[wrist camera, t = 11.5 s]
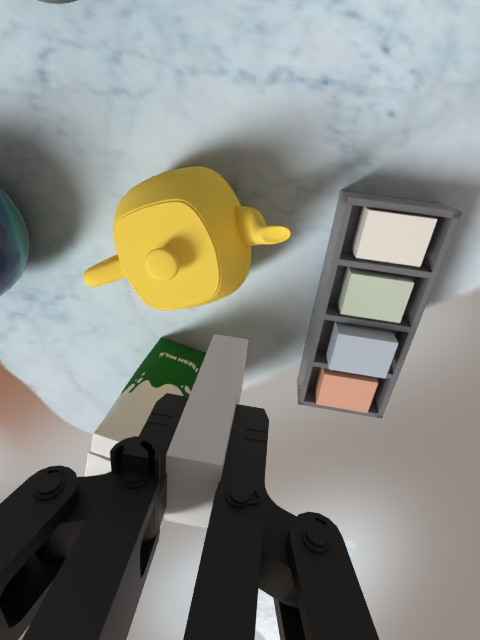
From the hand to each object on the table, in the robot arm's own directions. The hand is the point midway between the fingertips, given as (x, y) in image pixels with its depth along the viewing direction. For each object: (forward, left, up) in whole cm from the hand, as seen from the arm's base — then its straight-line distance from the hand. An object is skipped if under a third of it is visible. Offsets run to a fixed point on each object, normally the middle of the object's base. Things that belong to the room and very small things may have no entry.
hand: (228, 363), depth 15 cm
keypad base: (+7, +12, -26) cm, 30 cm away
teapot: (+1, -7, -27) cm, 28 cm away
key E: (+16, +12, -24) cm, 31 cm away
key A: (-2, +12, -24) cm, 27 cm away
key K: (+10, +12, -23) cm, 27 cm away
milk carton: (+20, -9, -27) cm, 34 cm away
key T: (+4, +12, -24) cm, 27 cm away
